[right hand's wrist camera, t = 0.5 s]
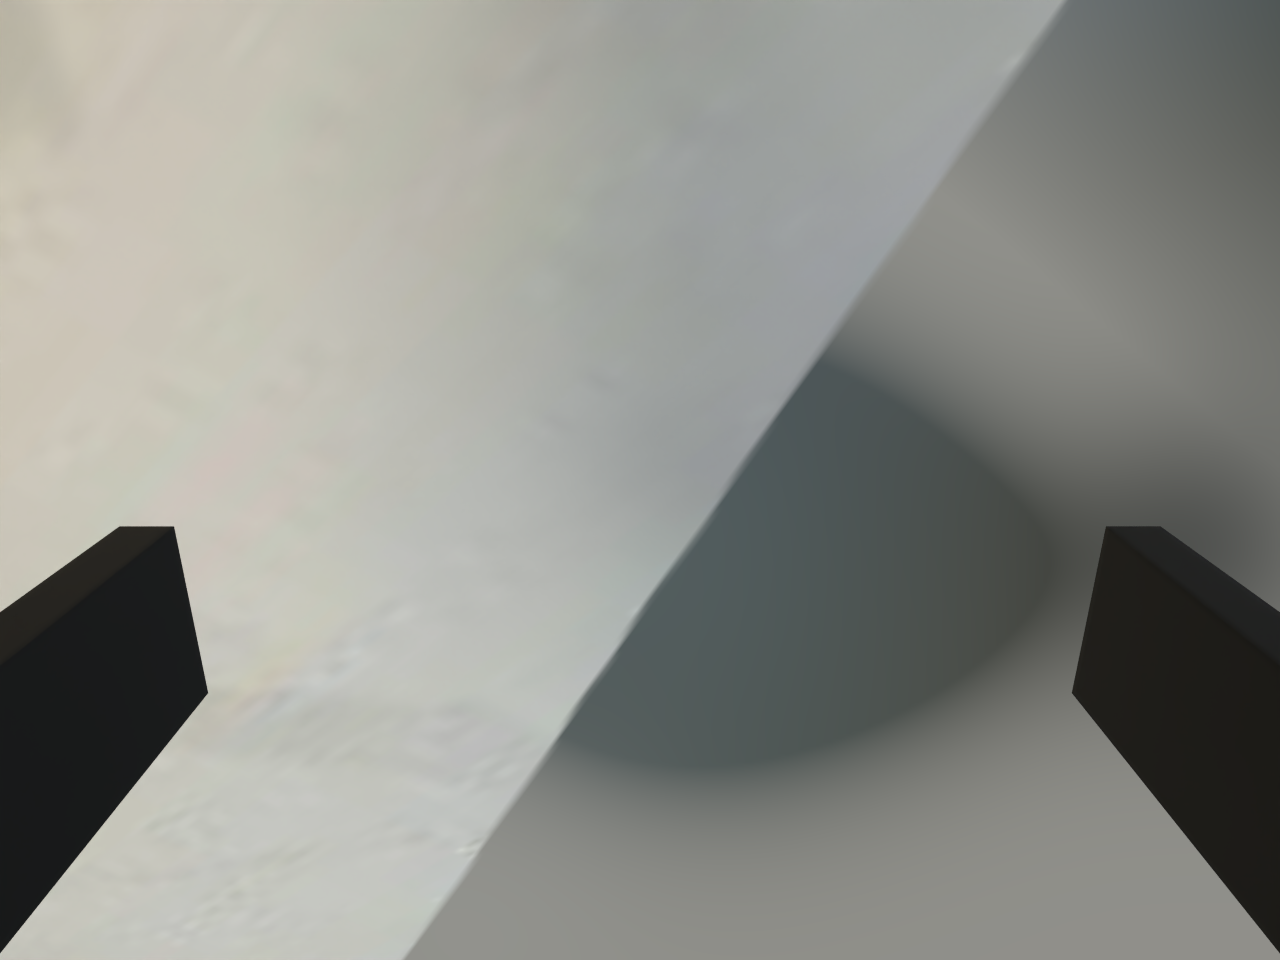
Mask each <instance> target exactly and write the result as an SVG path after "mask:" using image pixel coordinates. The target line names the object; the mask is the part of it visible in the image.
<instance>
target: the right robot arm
mask: <svg viewBox="0 0 1280 960" xmlns="http://www.w3.org/2000/svg"><path fill="white" fill-rule="evenodd" d="M207 694H208V690H207V685H206V680H205V676H204V671H203V666H202V661H201V656H200V651H199V646H198V641H197V637H196V632H195V627H194V622H193V617H192V612H191V607H190V602H189V598H188V593H187V588H186V583H185V578H184V573H183V568H182V563H181V559H180V554H179V549H178V544H177V539H176V534H175V529H174V527H118V528H117V529H115V530H114V531H113V532H111V533H110V534H108V535H107V536H106V537H104V538H103V539H101V540H100V541H99V542H97V543H96V544H95V545H93V546H92V547H90V548H89V549H88V550H86V551H85V552H83V553H82V554H81V555H79V556H78V557H76V558H75V559H74V560H72V561H71V562H69V563H68V564H67V565H65V566H64V567H63V568H61V569H60V570H58V571H57V572H56V573H54V574H53V575H51V576H50V577H49V578H47V579H46V580H44V581H43V582H42V583H40V584H39V585H37V586H36V587H35V588H33V589H32V590H31V591H29V592H28V593H26V594H25V595H24V596H22V597H21V598H19V599H18V600H17V601H15V602H14V603H12V604H11V605H10V606H8V607H7V608H6V609H4V610H3V611H1V612H0V953H1V952H2V950H3V949H4V948H5V947H6V945H7V944H8V943H9V942H10V940H11V939H12V938H13V937H14V935H15V934H16V933H17V931H18V930H19V929H20V928H21V926H22V925H23V924H24V923H25V921H26V920H27V919H28V918H29V916H30V915H31V914H32V913H33V911H34V910H35V909H36V908H37V906H38V905H39V904H40V903H41V901H42V900H43V899H44V898H45V896H46V895H47V894H48V893H49V891H50V890H51V889H52V888H53V886H54V885H55V884H56V883H57V881H58V880H59V879H60V878H61V876H62V875H63V874H64V873H65V871H66V870H67V869H68V868H69V866H70V865H71V864H72V863H73V861H74V860H75V859H76V858H77V856H78V855H79V854H80V853H81V851H82V850H83V849H84V848H85V846H86V845H87V844H88V843H89V841H90V840H91V839H92V838H93V836H94V835H95V834H96V833H97V831H98V830H99V829H100V828H101V826H102V825H103V824H104V823H105V821H106V820H107V819H108V818H109V816H110V815H111V814H112V813H113V811H114V810H115V809H116V808H117V806H118V805H119V804H120V803H121V801H122V800H123V799H124V798H125V796H126V795H127V794H128V793H129V791H130V790H131V789H132V788H133V786H134V785H135V784H136V783H137V781H138V780H139V779H140V778H141V776H142V775H143V774H144V773H145V771H146V770H147V769H148V768H149V766H150V765H151V764H152V763H153V761H154V760H155V759H156V758H157V756H158V755H159V754H160V753H161V751H162V750H163V749H164V747H165V746H166V745H167V744H168V742H169V741H170V740H171V739H172V737H173V736H174V735H175V734H176V732H177V731H178V730H179V729H180V727H181V726H182V725H183V724H184V722H185V721H186V720H187V719H188V717H189V716H190V715H191V714H192V712H193V711H194V710H195V709H196V707H197V706H198V705H199V704H200V702H201V701H202V700H203V699H204V697H205V696H206V695H207ZM1072 694H1073V695H1074V696H1075V697H1076V699H1077V700H1078V701H1079V702H1080V704H1081V705H1082V706H1083V707H1084V709H1085V710H1086V711H1087V712H1088V714H1089V715H1090V716H1091V717H1092V719H1093V720H1094V721H1095V722H1096V724H1097V725H1098V726H1099V727H1100V729H1101V730H1102V731H1103V732H1104V734H1105V735H1106V736H1107V737H1108V739H1109V740H1110V741H1111V742H1112V744H1113V745H1114V746H1115V747H1116V749H1117V750H1118V751H1119V753H1120V754H1121V755H1122V756H1123V758H1124V759H1125V760H1126V761H1127V762H1128V764H1129V765H1130V766H1131V767H1132V769H1133V770H1134V771H1135V772H1136V774H1137V775H1138V776H1139V778H1140V779H1141V780H1142V781H1143V783H1144V784H1145V785H1146V786H1147V788H1148V789H1149V790H1150V791H1151V793H1152V794H1153V795H1154V796H1155V798H1156V799H1157V800H1158V801H1159V803H1160V804H1161V805H1162V806H1163V808H1164V809H1165V810H1166V811H1167V813H1168V814H1169V815H1170V816H1171V818H1172V819H1173V820H1174V821H1175V823H1176V824H1177V825H1178V826H1179V828H1180V829H1181V830H1182V831H1183V833H1184V834H1185V835H1186V836H1187V838H1188V839H1189V840H1190V841H1191V843H1192V844H1193V845H1194V846H1195V848H1196V849H1197V850H1198V851H1199V853H1200V854H1201V855H1202V856H1203V858H1204V859H1205V860H1206V861H1207V863H1208V864H1209V865H1210V866H1211V868H1212V869H1213V870H1214V871H1215V873H1216V874H1217V875H1218V876H1219V878H1220V879H1221V880H1222V881H1223V883H1224V884H1225V885H1226V886H1227V888H1228V889H1229V890H1230V891H1231V893H1232V894H1233V895H1234V896H1235V898H1236V899H1237V900H1238V901H1239V903H1240V904H1241V905H1242V906H1243V908H1244V909H1245V910H1246V911H1247V913H1248V914H1249V915H1250V916H1251V918H1252V919H1253V920H1254V921H1255V923H1256V924H1257V925H1258V926H1259V928H1260V929H1261V930H1262V931H1263V933H1264V934H1265V935H1266V937H1267V938H1268V939H1269V940H1270V942H1271V943H1272V944H1273V945H1274V946H1275V948H1276V949H1277V950H1278V951H1279V953H1280V612H1279V611H1277V610H1276V609H1274V608H1273V607H1272V606H1270V605H1269V604H1268V603H1266V602H1265V601H1263V600H1262V599H1260V598H1259V597H1258V596H1256V595H1255V594H1254V593H1252V592H1251V591H1249V590H1248V589H1247V588H1245V587H1244V586H1242V585H1241V584H1240V583H1238V582H1237V581H1236V580H1234V579H1233V578H1231V577H1230V576H1229V575H1227V574H1226V573H1224V572H1223V571H1221V570H1220V569H1219V568H1217V567H1216V566H1215V565H1213V564H1212V563H1211V562H1209V561H1208V560H1206V559H1205V558H1204V557H1202V556H1201V555H1199V554H1198V553H1197V552H1195V551H1194V550H1192V549H1191V548H1190V547H1188V546H1187V545H1185V544H1184V543H1183V542H1181V541H1180V540H1179V539H1177V538H1176V537H1174V536H1173V535H1172V534H1170V533H1169V532H1167V531H1166V530H1165V529H1163V528H1162V527H1106V529H1105V534H1104V539H1103V544H1102V549H1101V554H1100V559H1099V563H1098V568H1097V573H1096V578H1095V583H1094V588H1093V593H1092V598H1091V603H1090V607H1089V612H1088V617H1087V622H1086V627H1085V632H1084V637H1083V641H1082V646H1081V651H1080V656H1079V661H1078V666H1077V671H1076V676H1075V680H1074V685H1073V690H1072Z"/></svg>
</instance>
